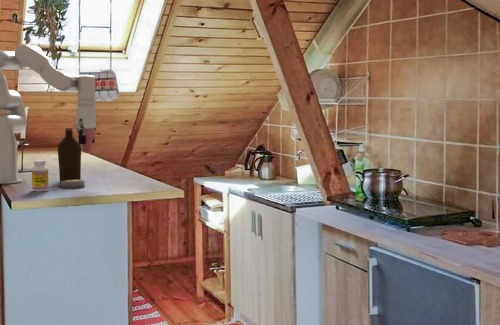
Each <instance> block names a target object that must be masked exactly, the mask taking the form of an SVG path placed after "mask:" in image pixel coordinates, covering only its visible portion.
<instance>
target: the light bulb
mask: <svg viewBox="0 0 500 325" xmlns="http://www.w3.org/2000/svg"><path fill="white" fill-rule="evenodd" d="M82 131H83V130H82ZM85 135H86V144H81V147H82V152H83V153H85V154H88V153H91V151H92V144H93V143H92V141H93V139H94V137H95V136H96V130H95V131H94V129H93V128H89V129H86V132H85Z"/></svg>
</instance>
